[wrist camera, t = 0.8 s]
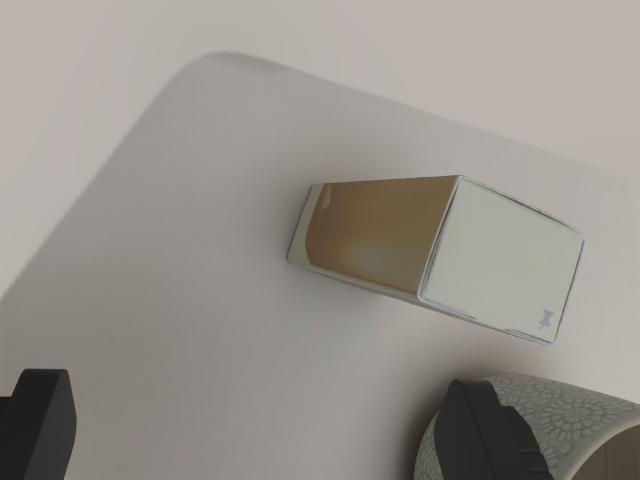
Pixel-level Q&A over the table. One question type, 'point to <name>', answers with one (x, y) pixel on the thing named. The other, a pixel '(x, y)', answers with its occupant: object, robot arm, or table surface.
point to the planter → (563, 429)
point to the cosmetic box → (444, 250)
